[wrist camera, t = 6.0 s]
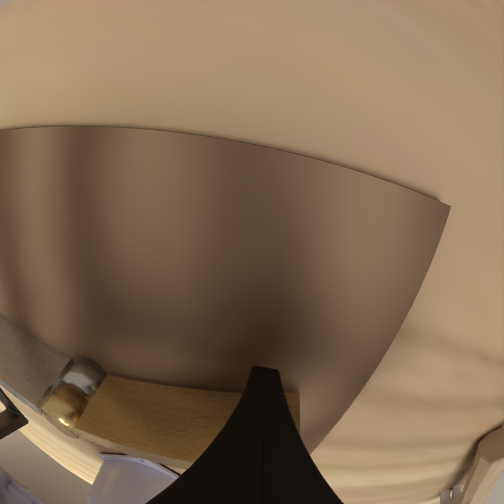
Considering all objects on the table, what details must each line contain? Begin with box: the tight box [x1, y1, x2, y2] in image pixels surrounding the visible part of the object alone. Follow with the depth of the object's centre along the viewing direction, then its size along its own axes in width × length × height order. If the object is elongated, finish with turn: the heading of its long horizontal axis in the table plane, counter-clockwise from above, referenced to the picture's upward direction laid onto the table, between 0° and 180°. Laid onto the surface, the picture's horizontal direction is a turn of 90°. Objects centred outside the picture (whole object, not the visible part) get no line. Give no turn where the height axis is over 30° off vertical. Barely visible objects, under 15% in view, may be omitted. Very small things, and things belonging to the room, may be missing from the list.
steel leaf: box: [0, 314, 107, 415], centre depth 11 cm, size 13×2×4 cm, turn 79°
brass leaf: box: [41, 374, 300, 469], centre depth 10 cm, size 13×2×4 cm, turn 95°
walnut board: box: [0, 126, 451, 455], centre depth 12 cm, size 28×20×1 cm
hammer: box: [440, 428, 504, 504], centre depth 14 cm, size 16×5×30 cm
